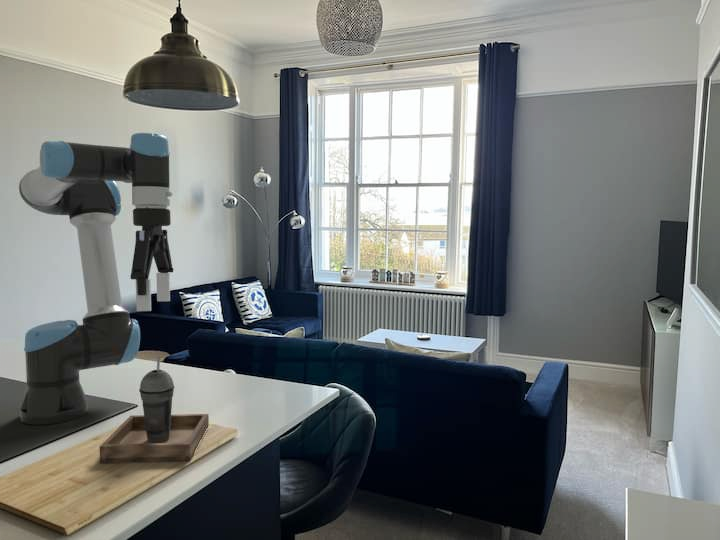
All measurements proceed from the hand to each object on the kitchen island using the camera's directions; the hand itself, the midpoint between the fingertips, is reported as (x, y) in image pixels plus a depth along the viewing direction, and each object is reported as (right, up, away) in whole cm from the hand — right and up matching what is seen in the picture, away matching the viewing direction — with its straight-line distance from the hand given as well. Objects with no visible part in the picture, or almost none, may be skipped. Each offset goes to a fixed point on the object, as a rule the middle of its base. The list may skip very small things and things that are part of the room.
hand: (154, 305), depth 119 cm
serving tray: (0, -31, +2) cm, 31 cm away
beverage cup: (0, -30, +2) cm, 30 cm away
